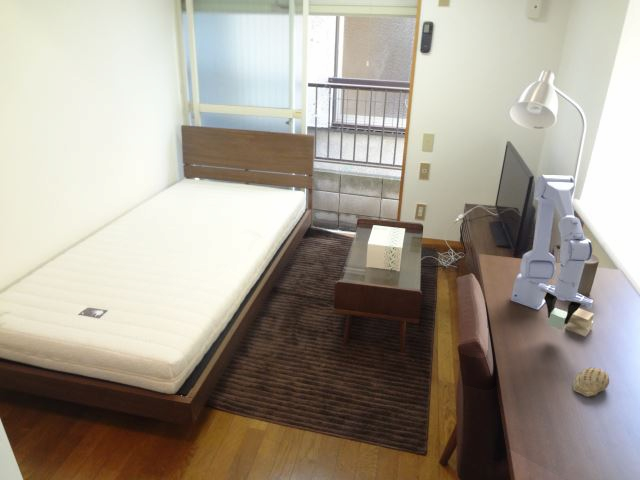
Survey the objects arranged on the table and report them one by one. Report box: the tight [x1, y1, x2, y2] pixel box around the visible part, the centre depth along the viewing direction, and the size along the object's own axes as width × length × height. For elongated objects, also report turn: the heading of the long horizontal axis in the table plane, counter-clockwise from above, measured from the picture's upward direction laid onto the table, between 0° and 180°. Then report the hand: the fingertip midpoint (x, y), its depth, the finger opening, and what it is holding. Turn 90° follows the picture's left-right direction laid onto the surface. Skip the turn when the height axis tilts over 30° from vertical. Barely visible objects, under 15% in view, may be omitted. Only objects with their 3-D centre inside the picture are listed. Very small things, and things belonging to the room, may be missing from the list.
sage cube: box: [547, 307, 568, 331], centre depth 142 cm, size 4×4×4 cm
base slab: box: [564, 320, 594, 338], centre depth 150 cm, size 6×6×3 cm
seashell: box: [572, 367, 610, 397], centre depth 125 cm, size 8×6×10 cm
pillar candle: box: [577, 253, 600, 298], centre depth 169 cm, size 10×10×15 cm
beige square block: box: [569, 307, 595, 328], centre depth 149 cm, size 5×5×3 cm
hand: (558, 319), depth 143 cm, fingers closed on sage cube, 4 cm apart
